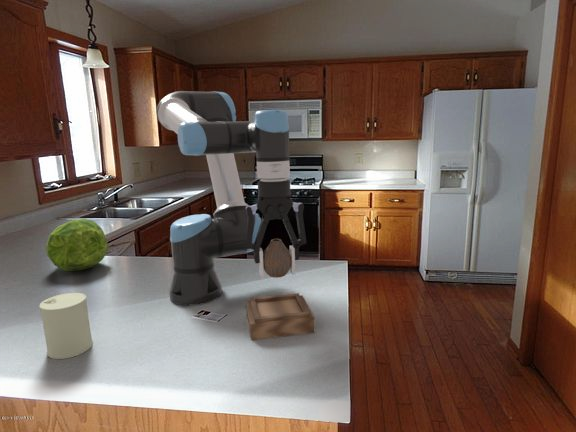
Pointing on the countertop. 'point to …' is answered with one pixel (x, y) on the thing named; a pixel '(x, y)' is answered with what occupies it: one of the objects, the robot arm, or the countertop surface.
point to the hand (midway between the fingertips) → (277, 273)
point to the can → (66, 325)
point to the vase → (276, 259)
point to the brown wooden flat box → (279, 316)
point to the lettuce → (77, 245)
